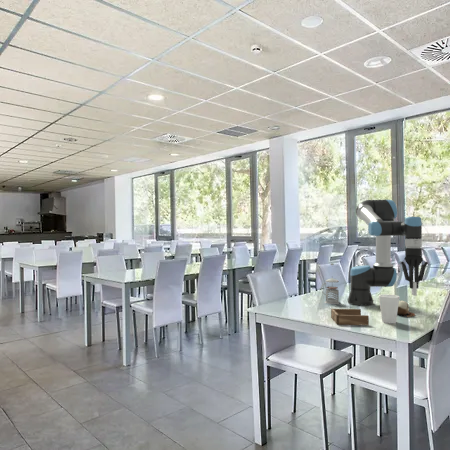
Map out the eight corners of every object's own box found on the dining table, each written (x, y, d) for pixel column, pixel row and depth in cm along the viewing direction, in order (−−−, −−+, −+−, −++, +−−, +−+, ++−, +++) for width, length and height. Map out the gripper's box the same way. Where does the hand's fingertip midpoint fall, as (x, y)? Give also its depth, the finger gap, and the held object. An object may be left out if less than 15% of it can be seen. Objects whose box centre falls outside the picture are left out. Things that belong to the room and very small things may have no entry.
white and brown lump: (394, 309, 221) (406, 297, 217) (407, 323, 216) (421, 311, 211) (385, 311, 213) (398, 299, 208) (399, 326, 207) (412, 314, 203)
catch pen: (331, 317, 206) (331, 308, 206) (360, 317, 204) (360, 309, 204) (336, 324, 190) (336, 315, 190) (368, 325, 188) (368, 315, 188)
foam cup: (394, 319, 200) (393, 294, 200) (402, 324, 191) (402, 297, 191) (375, 319, 200) (375, 294, 200) (383, 324, 190) (383, 297, 191)
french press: (341, 304, 241) (340, 263, 241) (321, 303, 243) (321, 263, 244) (339, 301, 251) (339, 262, 251) (321, 300, 253) (320, 262, 253)
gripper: (402, 247, 191) (403, 296, 191) (430, 247, 190) (431, 296, 190) (397, 247, 199) (397, 293, 198) (424, 247, 198) (424, 294, 197)
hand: (414, 295), depth 194 cm, fingers closed
